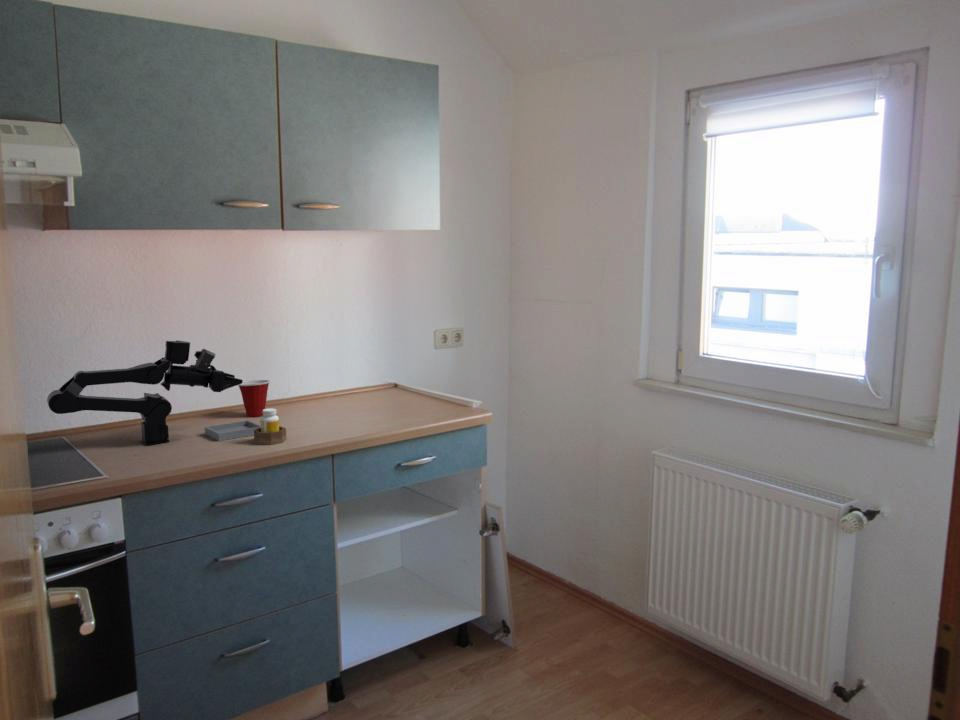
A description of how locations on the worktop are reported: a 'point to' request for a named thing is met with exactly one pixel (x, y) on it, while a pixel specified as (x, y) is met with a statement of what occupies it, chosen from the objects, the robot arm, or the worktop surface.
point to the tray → (231, 430)
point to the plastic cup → (254, 396)
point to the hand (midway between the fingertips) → (238, 379)
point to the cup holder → (270, 436)
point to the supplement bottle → (269, 421)
